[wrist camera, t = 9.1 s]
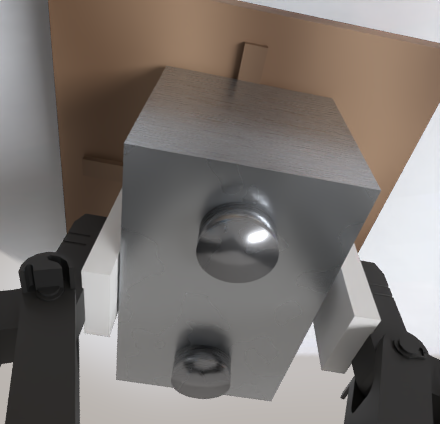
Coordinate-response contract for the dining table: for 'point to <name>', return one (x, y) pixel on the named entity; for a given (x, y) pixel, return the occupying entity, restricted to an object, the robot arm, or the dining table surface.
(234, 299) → the block
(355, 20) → the dining table surface
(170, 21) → the stand
